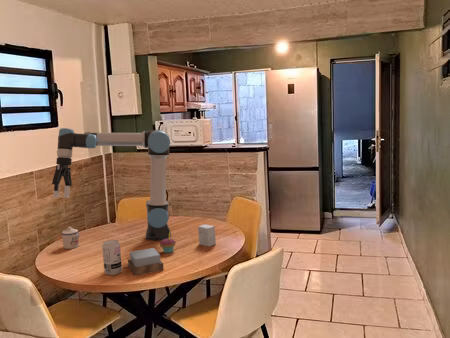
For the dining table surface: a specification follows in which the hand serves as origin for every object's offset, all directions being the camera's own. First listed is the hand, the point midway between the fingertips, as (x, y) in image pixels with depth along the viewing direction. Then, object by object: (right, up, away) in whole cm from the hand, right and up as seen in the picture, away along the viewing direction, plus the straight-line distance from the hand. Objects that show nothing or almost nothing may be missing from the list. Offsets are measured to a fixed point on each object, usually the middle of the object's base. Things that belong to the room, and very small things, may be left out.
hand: (61, 197), depth 233 cm
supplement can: (+33, -35, -21) cm, 52 cm away
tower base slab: (+48, -34, -17) cm, 61 cm away
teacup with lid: (-2, -30, +23) cm, 38 cm away
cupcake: (+56, -30, +6) cm, 63 cm away
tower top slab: (+47, -30, -18) cm, 59 cm away
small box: (+77, -27, +15) cm, 83 cm away
